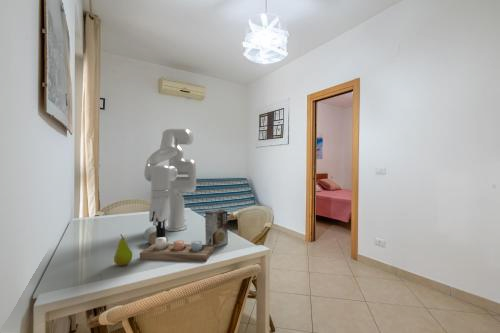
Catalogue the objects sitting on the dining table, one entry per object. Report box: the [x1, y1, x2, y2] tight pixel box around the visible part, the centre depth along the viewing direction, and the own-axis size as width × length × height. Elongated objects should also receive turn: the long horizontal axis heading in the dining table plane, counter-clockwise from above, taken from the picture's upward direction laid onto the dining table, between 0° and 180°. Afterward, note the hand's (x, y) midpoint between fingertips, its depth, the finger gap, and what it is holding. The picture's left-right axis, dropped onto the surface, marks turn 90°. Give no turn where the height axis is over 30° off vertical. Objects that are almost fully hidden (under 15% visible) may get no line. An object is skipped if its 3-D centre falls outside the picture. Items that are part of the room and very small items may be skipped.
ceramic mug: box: [143, 226, 169, 246], centre depth 113 cm, size 11×8×8 cm
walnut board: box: [139, 242, 215, 262], centre depth 98 cm, size 12×28×2 cm, turn 84°
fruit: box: [113, 233, 133, 267], centre depth 88 cm, size 6×6×12 cm
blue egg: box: [190, 240, 203, 252], centre depth 97 cm, size 4×4×4 cm
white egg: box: [155, 236, 167, 250], centre depth 99 cm, size 4×4×4 cm
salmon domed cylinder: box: [172, 239, 185, 251], centre depth 98 cm, size 4×4×4 cm
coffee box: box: [204, 209, 229, 249], centre depth 111 cm, size 9×6×16 cm
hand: (160, 236), depth 99 cm, fingers closed
